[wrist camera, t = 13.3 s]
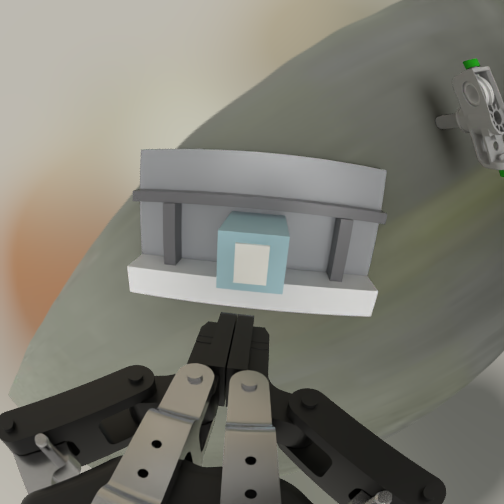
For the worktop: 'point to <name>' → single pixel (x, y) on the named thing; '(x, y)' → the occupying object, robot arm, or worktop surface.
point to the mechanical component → (479, 113)
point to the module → (252, 252)
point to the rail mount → (267, 202)
